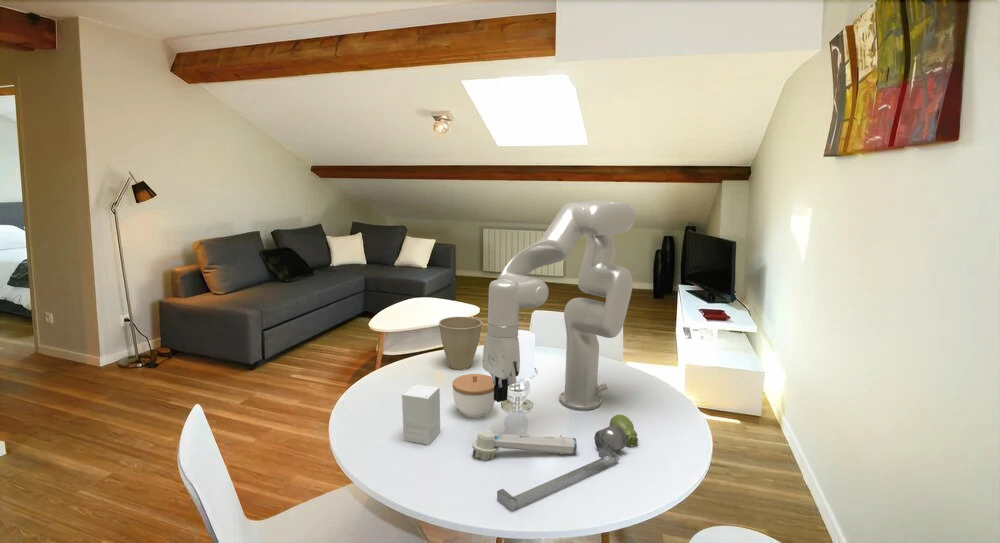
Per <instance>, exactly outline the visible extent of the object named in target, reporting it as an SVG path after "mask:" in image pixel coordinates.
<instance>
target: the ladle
mask: <svg viewBox="0 0 1000 543" xmlns="http://www.w3.org/2000/svg"><path fill="white" fill-rule="evenodd" d="M593 439H594V444H595V445H594V446H595V448H597V450H598V457H599V459H596V460H594V461H592V462H590V463H587V464H585V465H583V466H581V467H578V468H576V469H573V470H572V471H569V472H567V473H564V474H562V475H559V476H558V477H556V478H553V479H550V480H549V481H545V482H544V483H541V484H539V485H538V486H535V487H532V488H530V489H527V490H526V491H523V492H521V493H519V494H516V495H514V496H513V495H511V494H510V493H509V492H508V491H507V490H505V488H502V489H499V490H497V491H496V500H497V502H499V503H500V504H501V505H503V506H504V507H505V508H506V509H507V510H508V511H510V512H511V513H513V512H514V511H517V510H519V509H520V508H523V507H525V506H528V505H529V504H532V503H534V502H536V501H539V500H541V499H543V498H545V497H547V496H550V495H551V494H554V493H557V492H559V491H561V490H562V489H565V488H567V487H569V486H572V485H573V484H576V483H578V482H580V481H583V480H585V479H587V478H588V477H589V478H590V477H591V476H593V475H595V474H598V473H600V472H601V471H604V470H606V469H608V468H611V467H612V466H613V467H614V466H616V465H617V464H619V459H620V458H619V457H620V456H619V454H617V453H616V452H618V451H621V450H623V449H625V448H626V447H627V446H626V443H627V439H626V435H625V433H624V431H623V430H622V429H621V428H620V427H619V426H617V425H612V426H610V425H609V426H607V427H605V428H602V429H600V430H597V431H596V432H595V434H594V438H593Z"/></svg>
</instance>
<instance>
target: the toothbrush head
mask: <svg viewBox="0 0 1000 543" xmlns="http://www.w3.org/2000/svg"><path fill="white" fill-rule="evenodd" d="M471 447H472V456H473V457H474V458H475V459H481V461H486V462H487V461H488V460H493V459H494V458H496V456H497V452H498V451H499V450H500V449H509V450H519V451H531V452H538V453H540V452H541V453H550V454H558V455H559V456H562V455H576V453H577V450H578V449H577V448H578V446H577V440H576V438H575V437H570V436H569V437H568V436H567V437H566V436H563V435H562V434H560V435H559V436H555V435H554V436H552V435H523V434H521V435H520V434H495V433H494V432H493V431H490V430H482V431H481V430H480V432H479V433H478V434H477V438H476V440H474V441H473V442H472V444H471ZM499 448H500V449H499Z"/></svg>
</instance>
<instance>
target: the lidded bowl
mask: <svg viewBox="0 0 1000 543" xmlns="http://www.w3.org/2000/svg"><path fill="white" fill-rule="evenodd" d="M452 394H453V395H452V396H453V401H454V404H455V406H456V408H457V409H458V411H459V412H461V413H463V414H462V415H463V416H464V415H465V417H467V418H471V419H472V418H473V419H475V418H476V419H478V417H479V418H482V417H485V416H486V415H487V414H488V412H490V410H492V409H493V406H494V405H495V403H496V401H495V400H494V384H493V380H492V376H490V375H488V374H481V373H469V374H463V375H460V376H457V377H456V378H454V379H453V381H452Z"/></svg>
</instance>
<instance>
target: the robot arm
mask: <svg viewBox="0 0 1000 543" xmlns="http://www.w3.org/2000/svg"><path fill="white" fill-rule="evenodd" d="M635 218H636V212H635V210H634V208H633V205H631V204H630V203H628V202H627V201H626V202H625V201H615V200H614V201H613V200H612V201H611V200H599V199H592V200H591V199H589V200H584V201H570V202H568V203H565V204H564V205H563V206H561V208H560V209H559V211H558V212H557V214H556V216H555V217H554V218H553V220H552V221H551V223H550V225H549V226H548V228H547V229H546V230H545V231H544V233H543V235H542V236H541V238H540V239H539V240H537V241H536V242H534V243H532V244H530V245H528V246H526V248H524V249H522V250H521V251H520V252H518V253H516V254H515V255H514V256H513V257H512V258H510V260H509V261H508V262H507V263H506V265H505V266H504V268H503V270H502V271H501V272H500V274H499V275H498V277H497V279H495V280H492V281H491V282H490V283H489V286H488V305H487V306H488V309H487V312H488V313H487V332H486V333H485V338H484V342H483V343H484V344H483V351H482V369H483V370H484V371H486V372H488V373H489V374H490V375H491V377H492V380H493V384H494V400H495V402H496V403H502V402H504V401H507V400H508V393H509V386H510V385H515V384H517V377H519V374H520V369H521V368H520V367H521V365H520V364H521V361H520V360H521V357H520V356H521V355H520V352H521V351H520V342H519V341H520V340H519V318H520V316H519V314H520V309H535V308H538V307H541V306H543V305H544V304H545V303H546V302H547V300H548V299H549V298H548V297H549V291H550V290H549V287H548V284H546V282H544V281H543V280H542V279H540V278H537V277H531V276H528V274H530V273H531V272H532V271H534V270H536V269H540V268H541V267H544V266H549V265H552V264H556V263H560V262H563V261H564V260H566V259H567V258H568V256H569V255H570V253H571V251H572V250H573V248H574V247H575V245H576V244H577V242H578V241H579V239H580V238H581V237H582V236H583V235H584V237H585V243H586V244H585V249H584V250H585V251H584V255H583V258H582V262H581V266H580V271H579V274H578V279H577V286H578V288H579V290H580V291H581V292H583V293H585V294H589V295H592V296H597V297H601V298H605V302H604V301H599V300H596V299H591V298H587V297H574V298H572V299H570V300H569V301H568V302H567V304H565V308H564V311H563V312H564V313H563V316H564V325H565V333H566V348H565V349H566V352H565V374H564V375H565V377H564V379H565V380H564V381H565V382H564V391H562V392H560V394H559V397H558V401H559V402H560V403H561V404H562V405H563V406H564V407H567V408H569V409H572V410H573V409H574V410H578V411H579V410H580V411H588V410H593V409H597V408H599V407H600V406H601V405H602V401H603V399H602V396H600V393H601V392H603V391H607V390H608V384H607V383H603V384H599V383H598V379H599V377H598V376H599V359H600V358H599V355H600V344H599V343H600V342H599V340H598V337H602V338H606V339H612V338H616V337H617V336H618V335H619V334H620V333H621V331H622V329H623V327H624V324H625V320H626V316H627V313H628V308H629V304H630V301H631V296H632V292H633V286H634V285H633V284H634V283H633V276H632V274H631V272H630V270H629V269H627V268H626V267H624V266H620V265H613V263H614V260H615V258H614V257H615V254H616V244H615V241H614V238H613V235H619V234H624V233H626V232H628V231H629V230H631V228H632V227H633V225H634V223H635Z"/></svg>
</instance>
